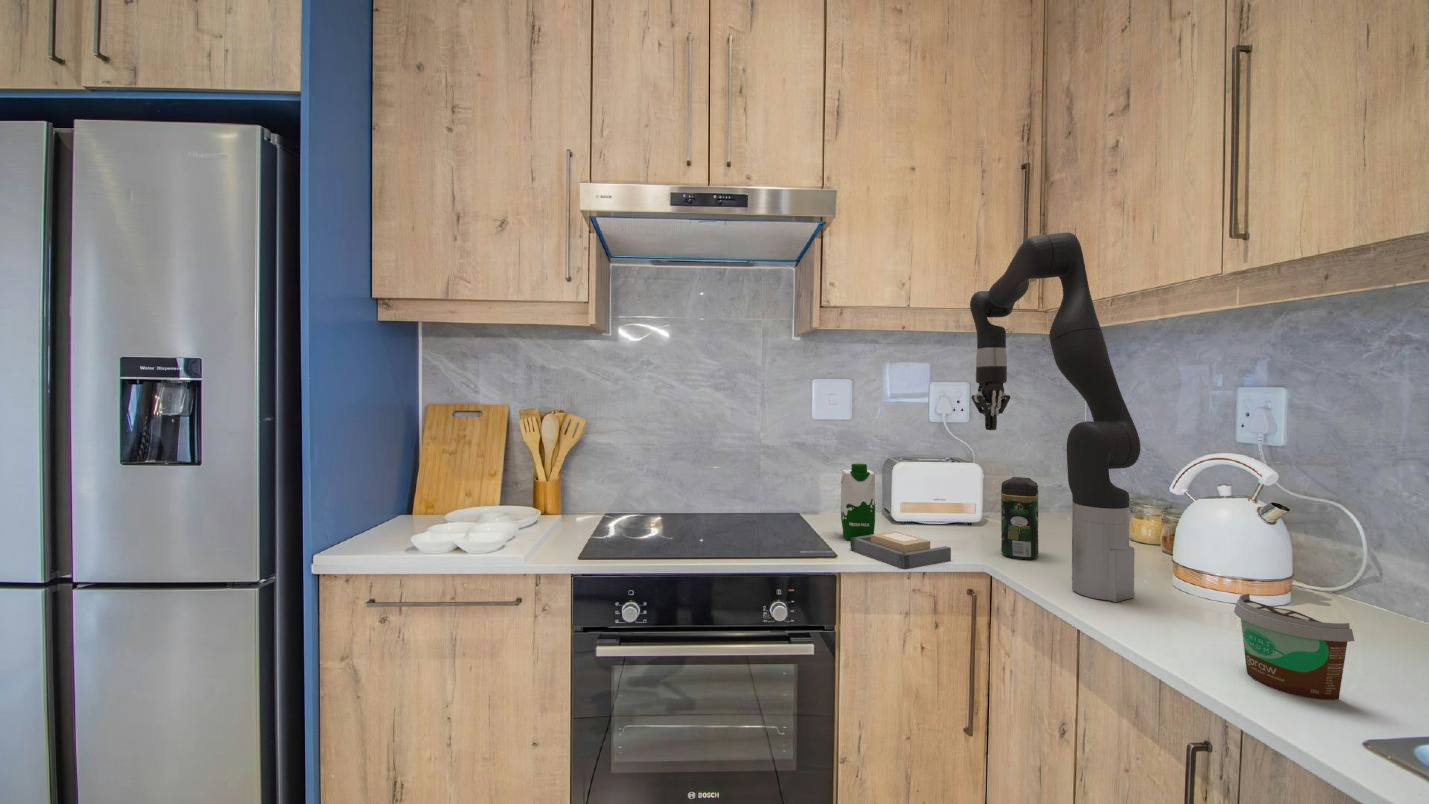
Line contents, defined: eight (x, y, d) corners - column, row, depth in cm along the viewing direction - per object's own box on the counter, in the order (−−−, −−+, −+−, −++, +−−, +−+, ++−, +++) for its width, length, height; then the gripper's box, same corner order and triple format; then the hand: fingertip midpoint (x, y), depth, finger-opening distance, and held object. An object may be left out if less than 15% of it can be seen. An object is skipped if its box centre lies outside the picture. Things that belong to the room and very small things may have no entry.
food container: (1210, 665, 83) (1211, 595, 83) (1243, 661, 85) (1244, 592, 85) (1317, 711, 71) (1318, 629, 71) (1354, 705, 73) (1354, 624, 73)
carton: (930, 562, 136) (930, 540, 136) (904, 567, 132) (904, 544, 132) (895, 551, 146) (895, 530, 146) (870, 555, 142) (870, 534, 142)
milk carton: (843, 541, 154) (843, 465, 154) (839, 533, 163) (839, 461, 163) (877, 542, 153) (877, 465, 153) (871, 534, 162) (871, 461, 162)
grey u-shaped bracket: (950, 560, 136) (950, 547, 136) (904, 568, 130) (904, 555, 130) (894, 543, 152) (894, 531, 152) (850, 549, 146) (850, 537, 146)
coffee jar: (1003, 548, 147) (1003, 474, 147) (1039, 552, 143) (1039, 476, 143) (998, 557, 139) (998, 479, 139) (1036, 562, 135) (1036, 481, 135)
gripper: (986, 364, 152) (986, 431, 152) (1020, 365, 158) (1019, 430, 158) (962, 365, 158) (962, 430, 159) (995, 366, 164) (995, 428, 164)
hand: (991, 429), depth 158 cm, fingers closed
